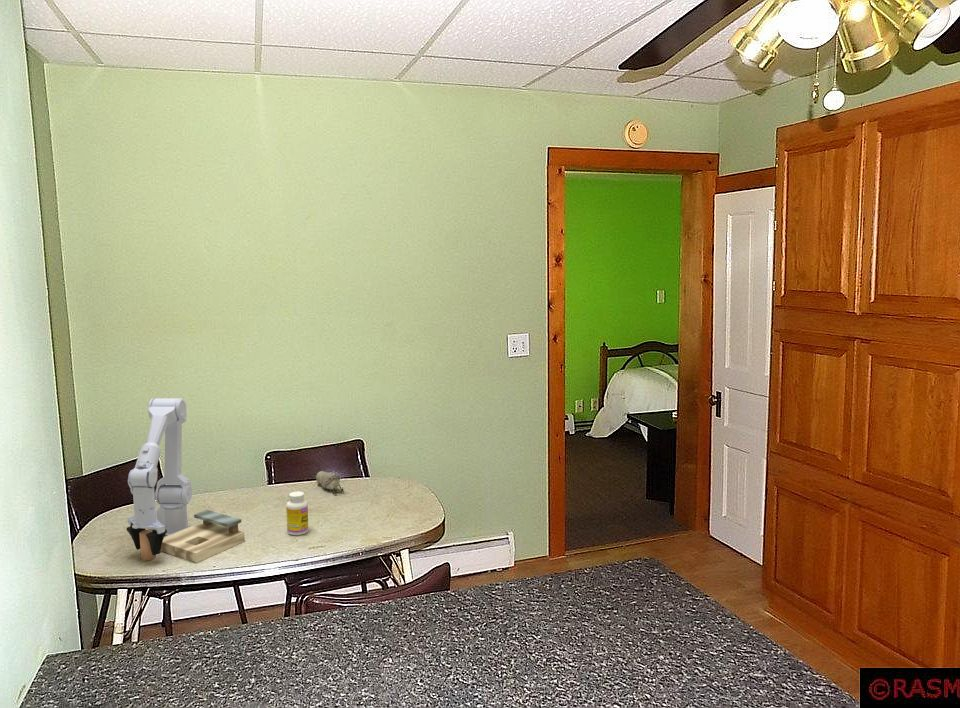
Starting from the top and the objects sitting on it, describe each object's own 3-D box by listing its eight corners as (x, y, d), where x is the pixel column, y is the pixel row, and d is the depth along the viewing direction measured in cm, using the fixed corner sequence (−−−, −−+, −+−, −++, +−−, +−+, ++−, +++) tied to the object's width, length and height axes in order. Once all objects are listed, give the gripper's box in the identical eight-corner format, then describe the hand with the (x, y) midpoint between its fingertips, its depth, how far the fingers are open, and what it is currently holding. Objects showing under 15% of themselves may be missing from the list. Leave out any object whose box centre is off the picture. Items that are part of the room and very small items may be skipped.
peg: (138, 558, 218) (136, 533, 217) (150, 553, 222) (148, 528, 220) (146, 561, 216) (144, 536, 215) (158, 556, 220) (157, 531, 218)
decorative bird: (324, 482, 285) (323, 464, 284) (346, 493, 273) (346, 474, 272) (312, 486, 282) (311, 467, 280) (333, 497, 270) (333, 477, 269)
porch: (157, 549, 225) (155, 527, 223) (206, 529, 240) (204, 509, 239) (196, 562, 215) (194, 540, 214) (244, 541, 231) (243, 519, 230)
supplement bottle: (303, 536, 234) (301, 498, 232) (283, 535, 235) (282, 496, 233) (312, 528, 241) (310, 491, 239) (293, 527, 242) (291, 489, 240)
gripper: (117, 507, 217) (120, 550, 219) (148, 516, 209) (151, 561, 211) (138, 499, 223) (142, 542, 225) (169, 508, 215) (172, 552, 217)
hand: (148, 551), depth 218 cm, fingers open, 7 cm apart
